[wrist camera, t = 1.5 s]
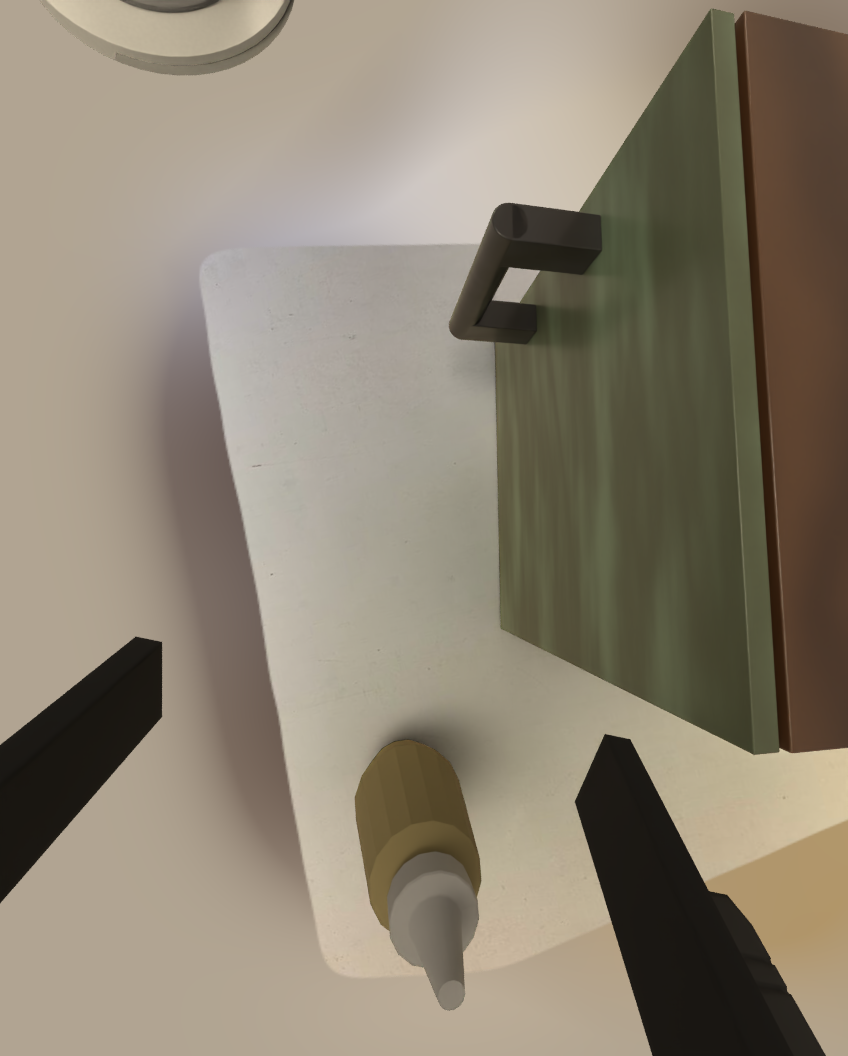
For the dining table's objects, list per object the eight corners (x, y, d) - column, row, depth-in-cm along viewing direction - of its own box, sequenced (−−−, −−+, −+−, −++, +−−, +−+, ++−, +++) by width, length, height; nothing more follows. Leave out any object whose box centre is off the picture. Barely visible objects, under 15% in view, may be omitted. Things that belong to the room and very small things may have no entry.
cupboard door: (434, 631, 36) (582, 772, 13) (431, 335, 38) (556, -29, 14) (511, 628, 37) (780, 752, 14) (505, 341, 39) (735, 12, 15)
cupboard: (513, 627, 38) (791, 754, 14) (507, 342, 39) (744, 8, 15) (690, 621, 41) (1178, 715, 17) (677, 355, 42) (1101, 92, 18)
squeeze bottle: (348, 823, 34) (340, 1109, 17) (361, 721, 35) (367, 892, 17) (444, 826, 36) (532, 1095, 18) (455, 728, 36) (551, 892, 19)
